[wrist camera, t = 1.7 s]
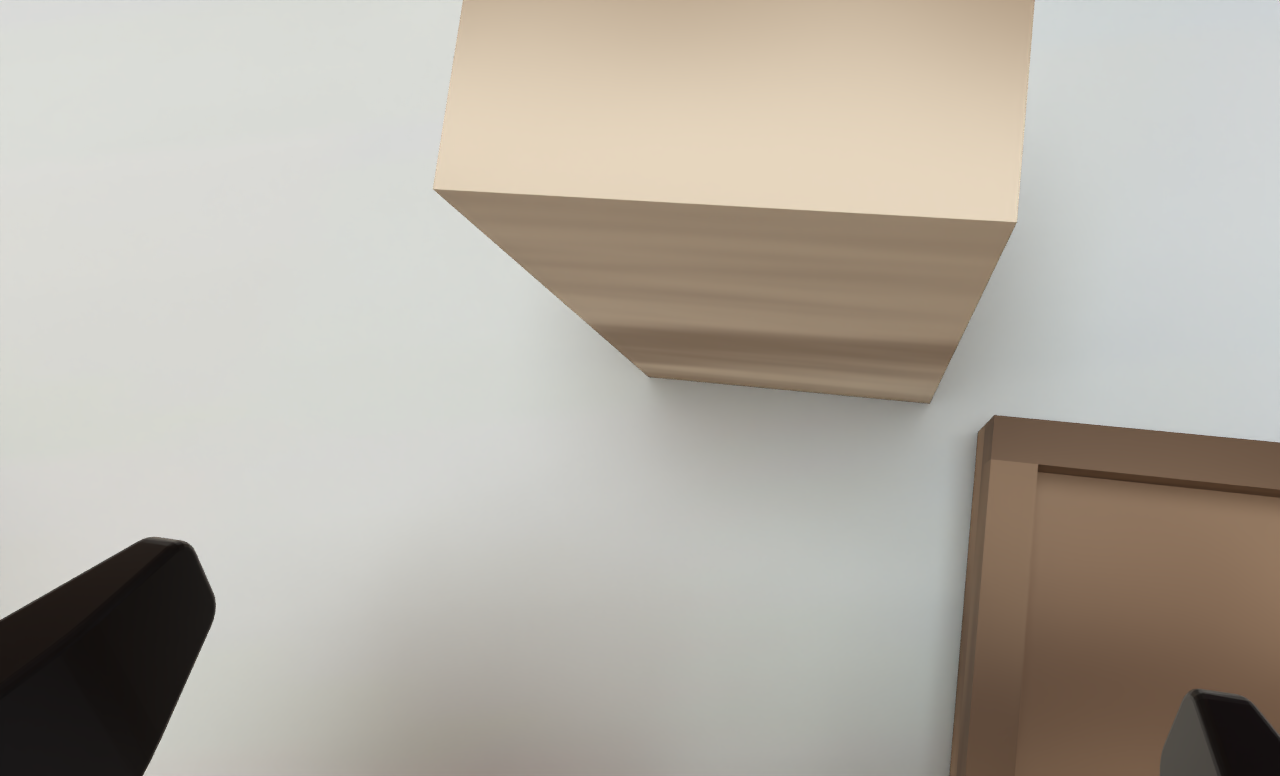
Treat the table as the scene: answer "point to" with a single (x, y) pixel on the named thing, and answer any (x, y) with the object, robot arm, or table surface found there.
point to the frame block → (749, 176)
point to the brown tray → (1111, 593)
